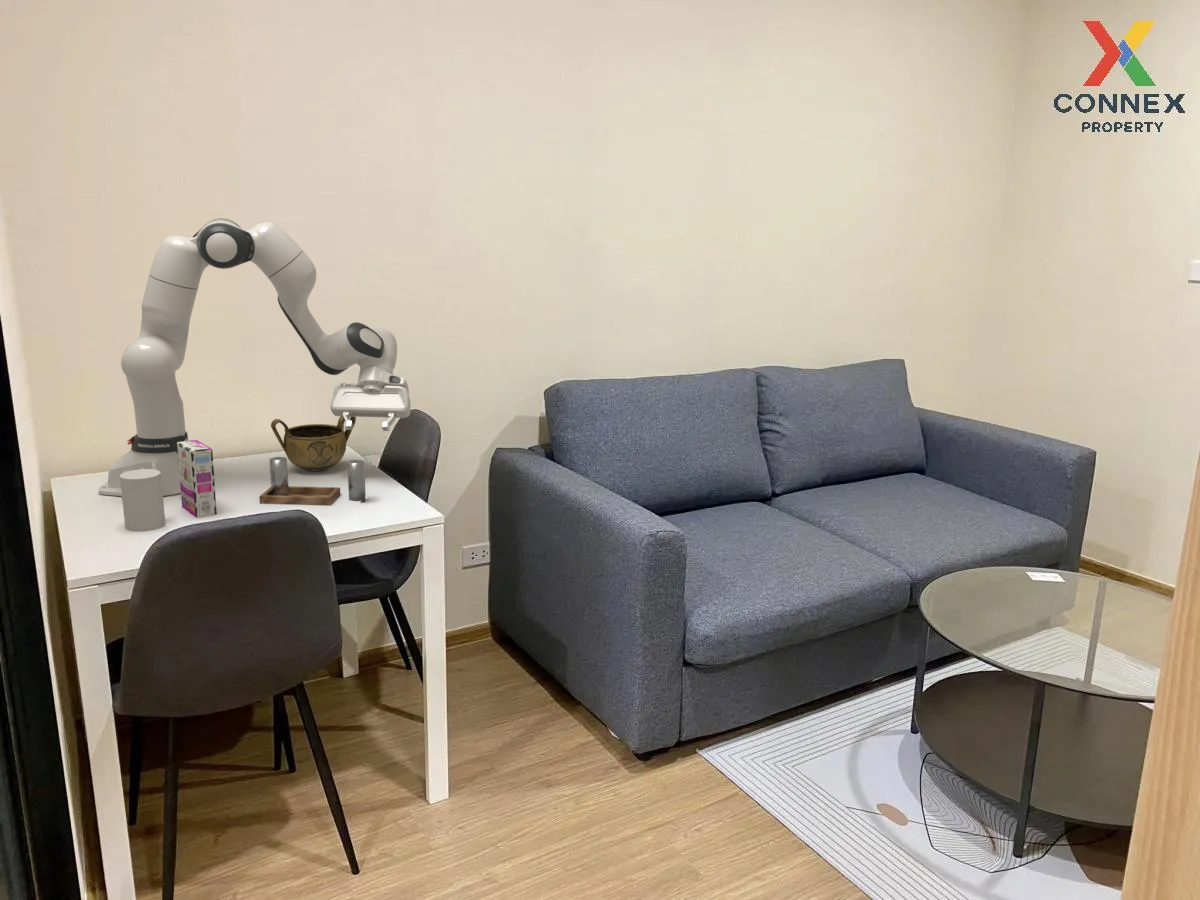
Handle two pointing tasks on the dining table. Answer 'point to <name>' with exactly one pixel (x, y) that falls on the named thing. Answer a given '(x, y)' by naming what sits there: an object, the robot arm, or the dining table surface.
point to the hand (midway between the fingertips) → (366, 429)
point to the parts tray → (303, 496)
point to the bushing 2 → (356, 480)
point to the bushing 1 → (279, 476)
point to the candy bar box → (197, 478)
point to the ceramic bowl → (314, 444)
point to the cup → (142, 499)
